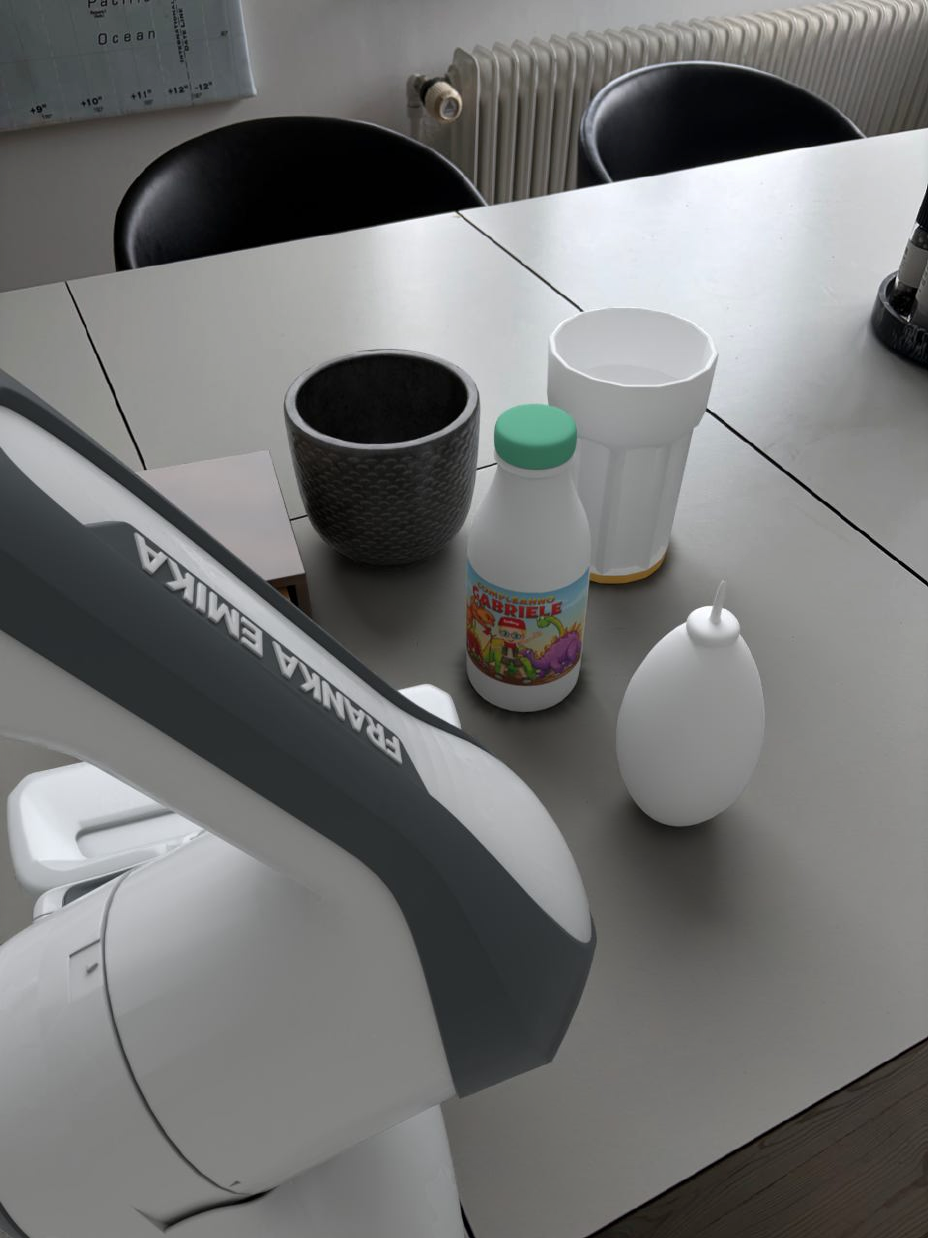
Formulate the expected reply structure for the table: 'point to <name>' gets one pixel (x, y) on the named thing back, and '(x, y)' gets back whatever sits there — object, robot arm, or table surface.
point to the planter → (384, 453)
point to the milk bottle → (528, 565)
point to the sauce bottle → (692, 720)
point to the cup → (630, 425)
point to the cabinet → (240, 514)
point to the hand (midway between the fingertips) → (228, 678)
